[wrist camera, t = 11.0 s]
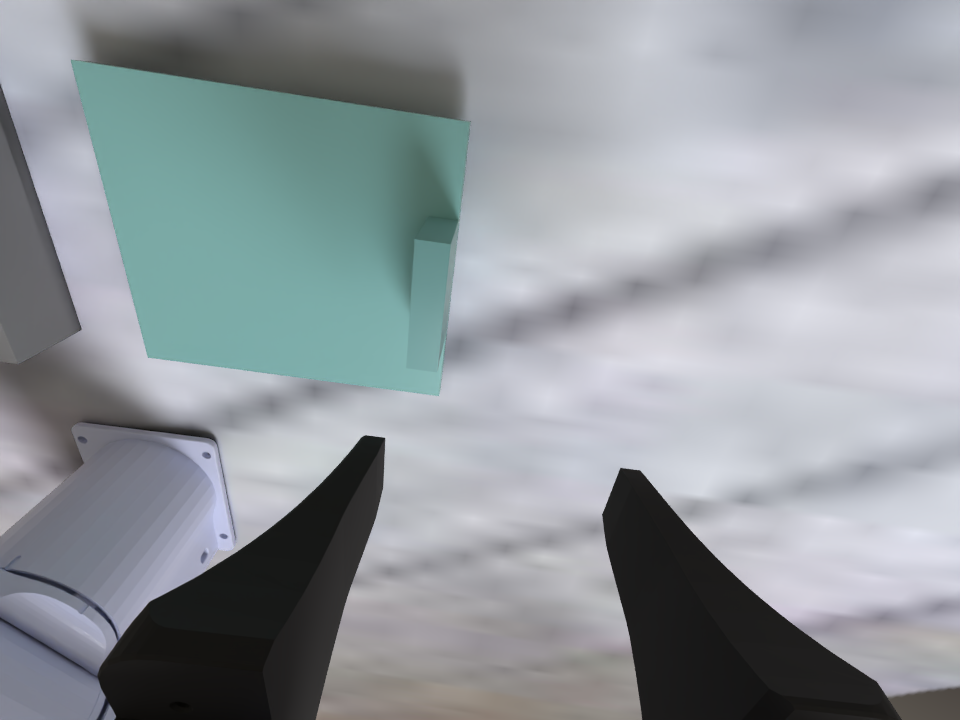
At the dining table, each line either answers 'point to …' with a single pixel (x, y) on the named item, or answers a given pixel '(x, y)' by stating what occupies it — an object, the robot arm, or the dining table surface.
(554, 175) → the dining table surface
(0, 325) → the tub
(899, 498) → the dining table surface
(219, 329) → the lid
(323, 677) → the robot arm
